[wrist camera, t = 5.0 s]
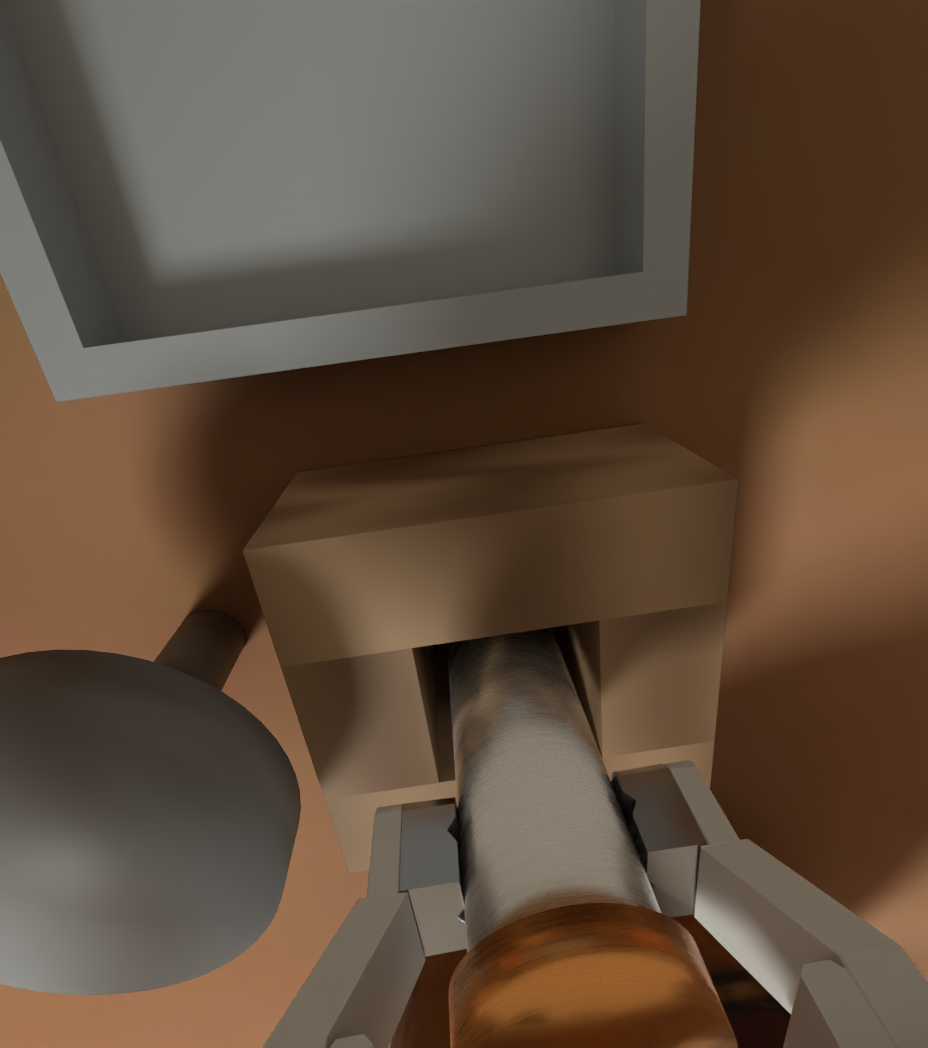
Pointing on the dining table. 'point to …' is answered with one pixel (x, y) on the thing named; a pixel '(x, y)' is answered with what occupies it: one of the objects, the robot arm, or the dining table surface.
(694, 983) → the pin
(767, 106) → the dining table surface
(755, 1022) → the ceramic pitcher
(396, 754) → the block
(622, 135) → the tray
